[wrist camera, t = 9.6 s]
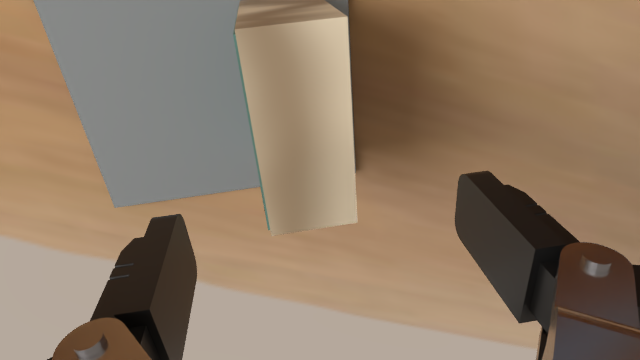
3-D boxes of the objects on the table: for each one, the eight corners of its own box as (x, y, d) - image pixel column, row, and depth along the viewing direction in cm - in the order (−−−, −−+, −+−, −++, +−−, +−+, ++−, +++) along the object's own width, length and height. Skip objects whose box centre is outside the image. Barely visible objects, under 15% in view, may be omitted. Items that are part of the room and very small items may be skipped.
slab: (313, -8, 23) (347, 16, 15) (326, 143, 27) (357, 222, 19) (237, 0, 22) (231, 29, 14) (263, 152, 27) (269, 236, 19)
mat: (343, -64, 22) (345, -64, 21) (354, 169, 29) (355, 172, 28) (24, -34, 20) (20, -34, 20) (117, 203, 27) (114, 207, 27)
